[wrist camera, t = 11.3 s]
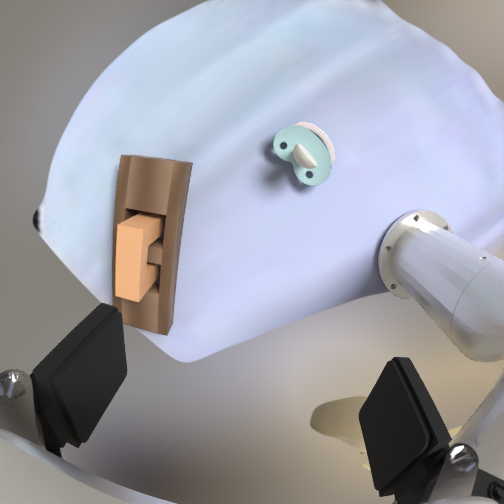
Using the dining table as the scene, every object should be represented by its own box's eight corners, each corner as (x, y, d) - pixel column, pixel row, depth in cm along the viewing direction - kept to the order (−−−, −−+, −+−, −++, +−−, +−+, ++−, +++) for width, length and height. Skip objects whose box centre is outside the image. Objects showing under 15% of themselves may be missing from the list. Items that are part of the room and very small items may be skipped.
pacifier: (303, 111, 30) (265, 143, 31) (314, 100, 24) (268, 139, 25) (344, 158, 31) (307, 190, 32) (363, 157, 25) (320, 196, 27)
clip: (164, 215, 34) (143, 229, 27) (158, 277, 36) (138, 302, 30) (142, 211, 34) (117, 224, 27) (137, 272, 36) (115, 295, 30)
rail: (192, 162, 32) (186, 163, 29) (172, 323, 39) (167, 335, 36) (131, 154, 31) (120, 155, 28) (122, 310, 38) (113, 320, 35)
